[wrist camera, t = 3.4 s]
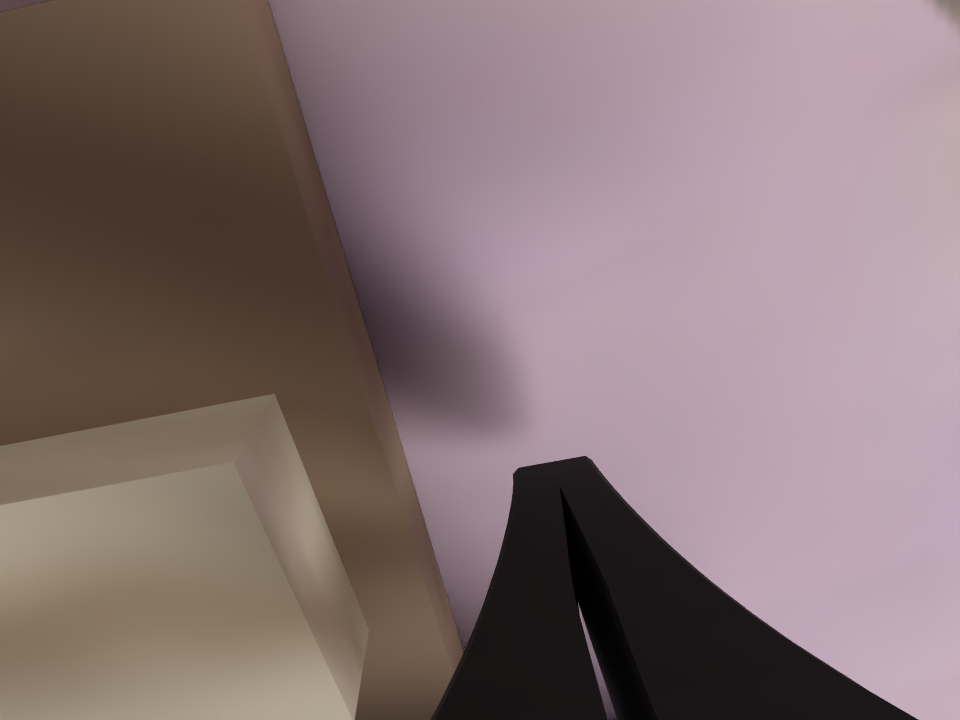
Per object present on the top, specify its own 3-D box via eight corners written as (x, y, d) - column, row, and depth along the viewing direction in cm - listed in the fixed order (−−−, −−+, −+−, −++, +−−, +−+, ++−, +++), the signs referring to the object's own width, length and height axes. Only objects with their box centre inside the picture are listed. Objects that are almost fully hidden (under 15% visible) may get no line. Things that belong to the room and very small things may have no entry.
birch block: (368, 630, 12) (353, 723, 10) (-62, 703, 13) (-149, 805, 11) (274, 394, 10) (232, 462, 8) (-261, 495, 10) (-420, 583, 8)
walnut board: (483, 717, 16) (486, 775, 15) (54, 788, 17) (19, 849, 15) (263, -16, 8) (225, -40, 7) (-520, 159, 9) (-695, 169, 8)
